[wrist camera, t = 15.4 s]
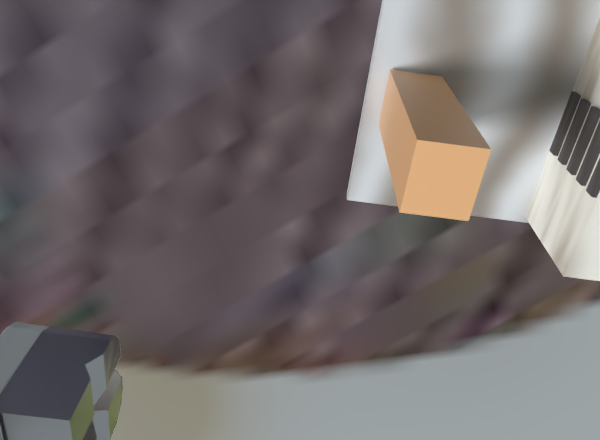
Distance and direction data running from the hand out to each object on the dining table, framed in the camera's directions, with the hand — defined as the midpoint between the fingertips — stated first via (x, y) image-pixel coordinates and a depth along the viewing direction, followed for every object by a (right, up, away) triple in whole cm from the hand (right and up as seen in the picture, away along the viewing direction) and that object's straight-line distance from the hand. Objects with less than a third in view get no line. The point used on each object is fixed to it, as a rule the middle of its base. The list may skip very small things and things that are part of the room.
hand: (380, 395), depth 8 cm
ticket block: (+15, +11, +31) cm, 36 cm away
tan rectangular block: (+6, +11, +30) cm, 33 cm away
